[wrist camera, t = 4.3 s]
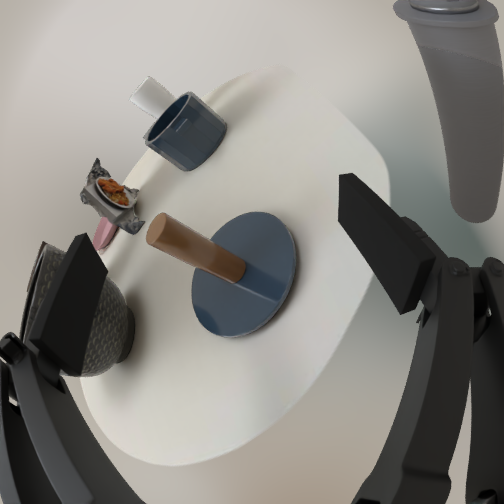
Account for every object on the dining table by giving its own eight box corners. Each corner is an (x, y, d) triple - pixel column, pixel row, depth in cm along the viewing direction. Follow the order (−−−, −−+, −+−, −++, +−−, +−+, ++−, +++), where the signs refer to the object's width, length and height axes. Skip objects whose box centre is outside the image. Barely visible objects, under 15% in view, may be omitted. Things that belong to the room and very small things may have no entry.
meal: (147, 219, 47) (87, 185, 38) (134, 236, 48) (76, 205, 39) (142, 185, 57) (97, 157, 48) (132, 199, 58) (87, 172, 49)
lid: (254, 198, 29) (185, 143, 22) (328, 262, 21) (247, 190, 14) (186, 281, 31) (111, 247, 24) (229, 366, 22) (126, 347, 16)
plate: (103, 223, 68) (98, 220, 67) (129, 192, 62) (123, 188, 61) (95, 264, 60) (88, 261, 58) (120, 233, 54) (113, 229, 52)
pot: (208, 116, 50) (178, 91, 44) (244, 128, 38) (205, 92, 32) (172, 158, 51) (140, 136, 46) (195, 185, 40) (152, 154, 34)
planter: (96, 338, 44) (22, 311, 32) (133, 264, 43) (52, 225, 32) (116, 410, 31) (16, 388, 20) (164, 328, 30) (39, 283, 19)
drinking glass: (190, 132, 52) (136, 91, 41) (173, 140, 56) (124, 104, 46) (202, 110, 53) (154, 70, 43) (186, 120, 58) (140, 84, 48)
